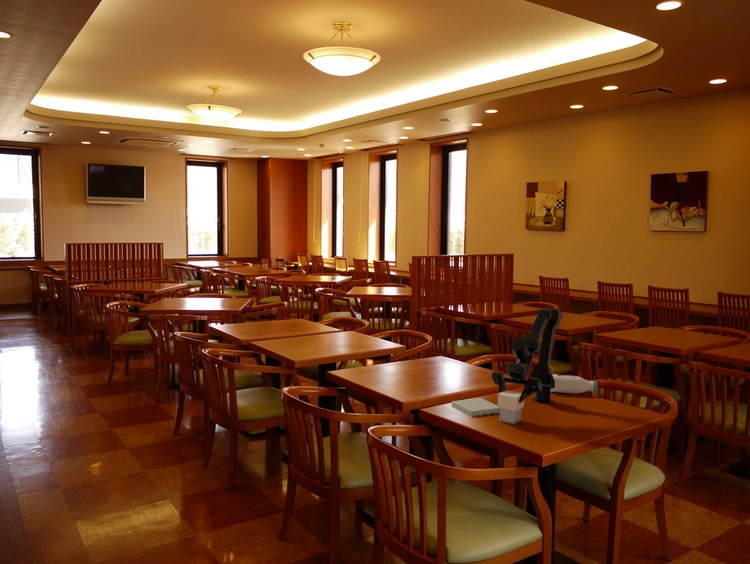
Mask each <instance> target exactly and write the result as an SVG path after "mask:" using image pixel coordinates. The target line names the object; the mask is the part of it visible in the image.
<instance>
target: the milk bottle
mask: <svg viewBox="0 0 750 564" xmlns="http://www.w3.org/2000/svg"><path fill="white" fill-rule="evenodd" d="M552 375H553V377H554V380H555V388H554V389H551V391H550V392H551V393H561V394H574V395H575V394H582V393H587V392H592V393H597V391H598V387H599V386H598V381H595V380H587V379H584V378H583V377H581V376H577V375H566V374H552Z"/></svg>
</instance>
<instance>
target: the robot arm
mask: <svg viewBox="0 0 750 564" xmlns="http://www.w3.org/2000/svg"><path fill="white" fill-rule="evenodd" d="M563 315H564V314H563V312H562V310H561V309H560V308H554V307H553V308H550V307H544V309H543V308H540V309H538V310H537V315H536V316H535V319H534V321H533V323H532V326H531V328H530V330H529V331H528V332H527V333H526V334H524V335H523V336H518V338H516V339H514V340H513V341H511V343H510V349H511V351H512V353H513V355H514V358H516V360H515V363H514V362H508V361H507V364H506V369H505V371H506V372H508V373H507V375H509V376H510V377H509V376H505V374H504V372H502V371H500V372H499V371H495V370H494V371H492V373H491V375H490V378H491V379H492V381H493V383H494V385H497V386H498V394H499V393H501V392H503V391H505V390H507V386H506V383H510V384H515V385H520V386H523V390H522V392H521V393H522V394H521V396H520V399H519V403H521V402H522V401H524V402H525V400H527V398H528V397H530V396H531V395H533V394H534V397H531V400H533V401H535V402H537V403H538V404H546V403H554V400H552V399H551V393H552V392H551V389H554V388H555V380H554V377H553V375H552V374H553V372H554V371H553V368H552V366H551V358H552V352H553V347H554V339H555V332H556V330H557V329H558V328H559V326H560V325H561V322H562V320H563V317H564V316H563ZM538 353H539V355H538ZM532 354H533V355H538V362H537V363H536V364H534V356H533V355H532ZM532 364H534V365H533V366H532ZM531 366H532V371H531V373H530V368H531ZM529 375H530V377H529V378H528V380H527V377H528V376H529Z"/></svg>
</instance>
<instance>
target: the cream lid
mask: <svg viewBox="0 0 750 564" xmlns="http://www.w3.org/2000/svg"><path fill="white" fill-rule="evenodd" d="M521 394H522V392H520V391H514V390H508V389H505V391H503V392H501V393H499V392H498V394H497V404H496V405H497V407H499V408H504V409H509V410H514V411H517V410H519V409H520V408H521V409H523V408H524V406H525V400H524V401H522V402H521V403H519V399H520V396H521Z"/></svg>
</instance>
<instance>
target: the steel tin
mask: <svg viewBox="0 0 750 564" xmlns="http://www.w3.org/2000/svg"><path fill="white" fill-rule="evenodd" d="M520 420H522V408H520V409H519V410H517V411H514V410H509V409H504V408H500V413H499V420H498V421H499V422H501V421H503V422H502V423H505V422H508V423H507V424H510V423H513V424H512V425H514V424H515V423H516V424H518V423H519V422H521V421H520ZM518 421H519V422H518ZM517 422H518V423H517ZM516 424H515V425H516Z"/></svg>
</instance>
